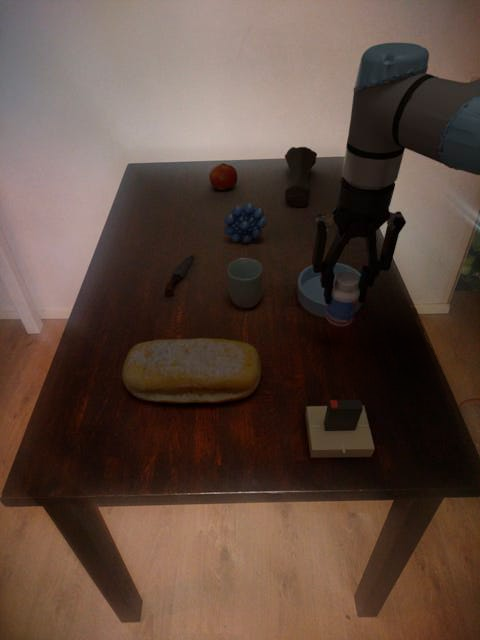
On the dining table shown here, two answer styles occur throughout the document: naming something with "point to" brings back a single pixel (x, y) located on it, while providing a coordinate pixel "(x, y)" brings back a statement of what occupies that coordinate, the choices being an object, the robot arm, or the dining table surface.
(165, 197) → the dining table surface
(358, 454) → the tan flat block
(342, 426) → the black block red label
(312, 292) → the shallow blue dish
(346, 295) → the pill bottle
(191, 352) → the bread
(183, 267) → the knife
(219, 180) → the tomato
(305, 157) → the scalloped vase
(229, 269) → the cup
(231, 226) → the grapes
